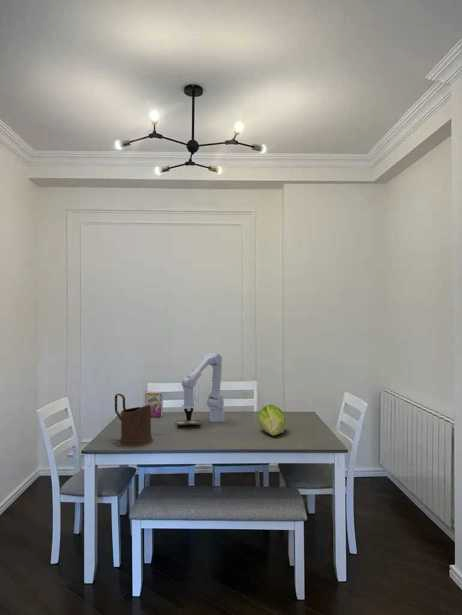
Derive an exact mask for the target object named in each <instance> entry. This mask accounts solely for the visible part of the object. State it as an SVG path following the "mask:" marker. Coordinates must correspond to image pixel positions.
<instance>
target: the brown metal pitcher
mask: <svg viewBox="0 0 462 615" xmlns="http://www.w3.org/2000/svg"><path fill="white" fill-rule="evenodd" d="M118 396H120V397H121V398H122V410H121V412H119V411H118ZM114 413H115V414H116V415H117V417H118V419H119V420H120V422H121V425H120V427H121V428H120V429H121V432H120V434H121V435H120V439H119V442H118V444H119V445H120V446H123V447H143V446H147V445H150V444H152V443H153V442H154V439H153V436H152V425H151V424H152V419H151V418H152V417H151V405H146V406H145V405H143V406H138V407H137V406H135V407H131V408H126V398H125V395H124V394H122V393H116V394H114ZM142 445H143V446H142Z"/></svg>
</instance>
